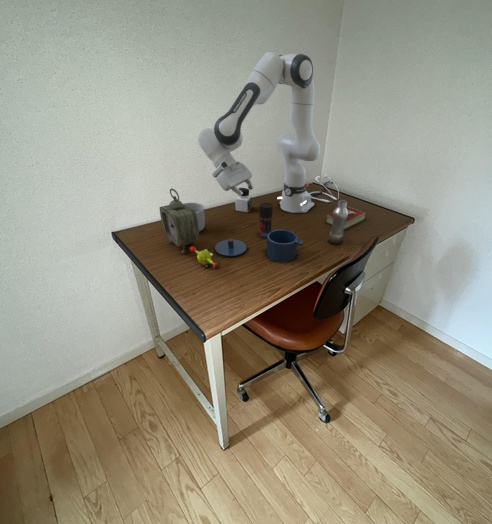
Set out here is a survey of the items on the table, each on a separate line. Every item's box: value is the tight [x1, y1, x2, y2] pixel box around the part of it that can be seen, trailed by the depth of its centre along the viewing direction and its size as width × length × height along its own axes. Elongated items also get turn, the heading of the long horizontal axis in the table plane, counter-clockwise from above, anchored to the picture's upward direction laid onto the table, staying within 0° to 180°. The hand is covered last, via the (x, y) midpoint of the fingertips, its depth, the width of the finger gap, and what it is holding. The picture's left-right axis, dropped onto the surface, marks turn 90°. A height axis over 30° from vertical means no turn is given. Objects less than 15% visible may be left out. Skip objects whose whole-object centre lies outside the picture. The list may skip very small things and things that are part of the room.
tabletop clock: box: [159, 188, 200, 255], centre depth 107 cm, size 14×9×25 cm, turn 45°
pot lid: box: [214, 238, 248, 257], centre depth 113 cm, size 13×13×5 cm
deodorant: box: [258, 202, 274, 238], centre depth 123 cm, size 6×6×15 cm
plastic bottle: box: [328, 199, 348, 245], centre depth 121 cm, size 6×7×20 cm
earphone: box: [308, 173, 340, 204], centre depth 172 cm, size 14×17×18 cm
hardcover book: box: [325, 206, 367, 231], centre depth 145 cm, size 12×21×4 cm, turn 136°
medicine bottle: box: [234, 186, 253, 213], centre depth 146 cm, size 7×7×12 cm
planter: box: [182, 202, 206, 233], centre depth 124 cm, size 12×12×11 cm
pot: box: [260, 229, 305, 263], centre depth 112 cm, size 12×18×8 cm
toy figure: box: [188, 245, 221, 270], centre depth 101 cm, size 18×6×7 cm, turn 48°
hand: (247, 191), depth 119 cm, fingers open, 8 cm apart
